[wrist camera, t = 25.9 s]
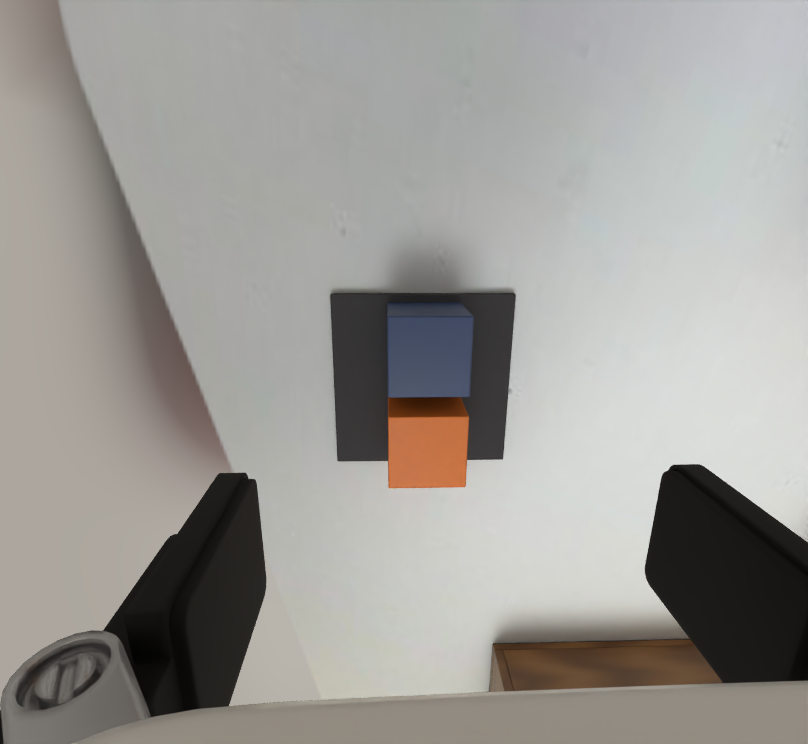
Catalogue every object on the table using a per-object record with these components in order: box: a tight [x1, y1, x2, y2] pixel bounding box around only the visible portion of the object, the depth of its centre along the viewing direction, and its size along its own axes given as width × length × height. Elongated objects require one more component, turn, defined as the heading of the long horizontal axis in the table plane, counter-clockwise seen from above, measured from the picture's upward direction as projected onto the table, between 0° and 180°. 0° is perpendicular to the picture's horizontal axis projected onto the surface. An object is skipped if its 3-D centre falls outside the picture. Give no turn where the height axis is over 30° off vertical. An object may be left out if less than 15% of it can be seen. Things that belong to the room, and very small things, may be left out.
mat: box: [330, 293, 516, 461], centre depth 27 cm, size 10×10×1 cm
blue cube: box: [387, 302, 474, 398], centre depth 24 cm, size 4×4×4 cm
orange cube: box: [388, 397, 469, 488], centre depth 25 cm, size 4×4×4 cm
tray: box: [489, 639, 723, 692], centre depth 34 cm, size 15×14×4 cm
